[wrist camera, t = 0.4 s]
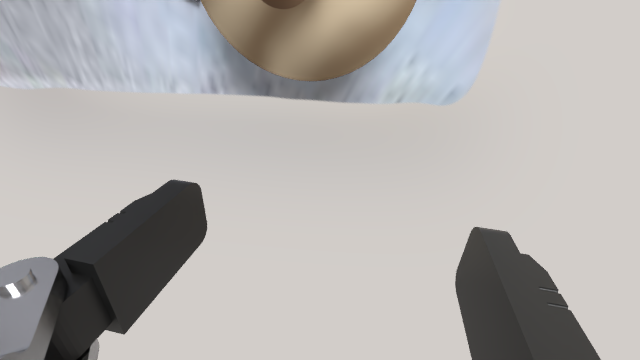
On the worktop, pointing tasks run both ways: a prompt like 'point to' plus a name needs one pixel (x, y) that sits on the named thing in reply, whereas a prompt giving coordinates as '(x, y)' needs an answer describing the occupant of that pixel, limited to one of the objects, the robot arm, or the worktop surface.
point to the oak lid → (309, 33)
